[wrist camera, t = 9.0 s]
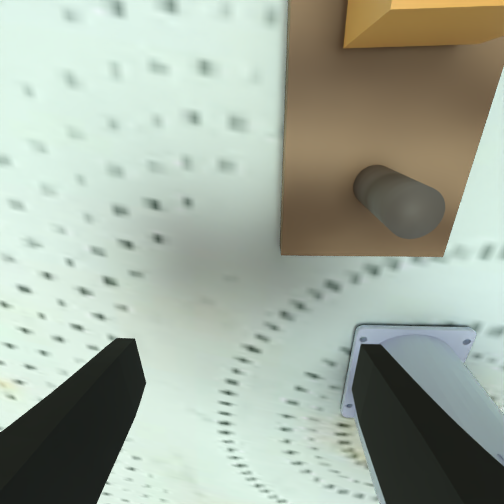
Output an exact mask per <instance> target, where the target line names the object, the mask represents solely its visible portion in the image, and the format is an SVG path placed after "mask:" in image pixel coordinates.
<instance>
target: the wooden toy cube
mask: <svg viewBox="0 0 504 504" xmlns="http://www.w3.org/2000/svg"><path fill="white" fill-rule="evenodd" d="M502 36H504V0H348V5H347V16H346V26H345V36H344V46H343V48H373V47H405V46H437V45H469V44H480V43H483V42H486V41H489V40H492V39H495V38H499V37H502Z"/></svg>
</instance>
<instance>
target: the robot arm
mask: <svg viewBox="0 0 504 504" xmlns="http://www.w3.org/2000/svg"><path fill="white" fill-rule="evenodd" d="M361 337H364V338H361ZM475 338H476V332H475V331H474V330H473V329H472V328H470V327H433V326H383V325H361V326H359V327H358V328H357V329H356V332H355V337H354V342H353V347H352V353H351V358H350V363H349V368H348V373H347V379H346V384H345V389H344V394H343V400H342V405H341V414H342V416H344V417H352V418H354V419H355V422H356V426H357V429H358V433H359V436H360V440H361V443H362V447H363V450H364V454H365V457H366V460H367V464H368V467H369V471H370V474H371V478H372V481H373V485H374V488H375V492H376V495H377V498H378V500H379V503H380V504H504V414H503V413H502V412H501V410H500V409H499V408H498V406H497V405H496V404H495V403H494V401H493V400H492V399H491V398H490V396H489V395H488V394H487V392H486V391H485V390H484V389H483V387H482V386H481V385H480V384H479V382H478V381H477V380H476V379H475V377H474V376H473V375H472V373H471V372H470V371H469V370H468V368H467V367H466V366H465V365H464V363H465V361H466V358H467V356H468V354H469V351H470V349H471V347H472V344H473V342H474V340H475ZM145 385H146V380H145V377H144V373H143V369H142V365H141V361H140V357H139V353H138V349H137V345H136V341H135V339H130V338H116V339H115V340H114V341H113V342H111V343H110V344H109V345H108V346H106V347H105V348H104V349H103V350H102V351H101V352H99V353H98V354H97V355H96V356H95V357H93V358H92V359H91V360H90V361H89V362H88V363H86V364H85V365H84V366H83V367H82V368H81V369H79V370H78V371H77V372H76V373H75V374H73V375H72V376H71V377H70V378H69V379H67V380H66V381H65V382H64V383H63V384H61V385H60V386H59V387H58V388H57V389H55V390H54V391H53V392H52V393H51V394H49V395H48V396H47V397H45V398H44V399H43V400H42V401H40V402H39V403H38V404H36V405H35V406H34V407H33V408H31V409H30V410H29V411H28V412H26V413H25V414H24V415H22V416H21V417H20V418H19V419H17V420H16V421H15V422H13V423H12V424H11V425H10V426H8V427H7V428H6V429H4V430H3V431H2V432H0V504H97V501H98V499H99V497H100V494H101V492H102V490H103V488H104V486H105V483H106V481H107V479H108V477H109V474H110V472H111V470H112V468H113V466H114V463H115V461H116V459H117V457H118V454H119V452H120V450H121V448H122V446H123V443H124V441H125V439H126V437H127V434H128V432H129V430H130V428H131V425H132V423H133V421H134V418H135V416H136V413H137V410H138V407H139V404H140V401H141V398H142V395H143V391H144V388H145Z"/></svg>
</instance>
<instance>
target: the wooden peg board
mask: <svg viewBox="0 0 504 504" xmlns="http://www.w3.org/2000/svg"><path fill="white" fill-rule="evenodd" d="M347 5H348V0H288V27H287V56H286V85H285V114H284V143H283V172H282V201H281V230H280V249H281V255H300V256H408V257H443V255H444V252H445V249H446V246H447V243H448V240H449V236H450V233H451V230H452V227H453V224H454V221H455V218H456V214H457V211H458V208H459V205H460V202H461V199H462V195H463V192H464V189H465V186H466V183H467V180H468V177H469V173H470V170H471V167H472V164H473V161H474V158H475V155H476V151H477V148H478V145H479V142H480V139H481V136H482V133H483V129H484V126H485V123H486V120H487V117H488V114H489V111H490V107H491V104H492V101H493V98H494V95H495V92H496V89H497V85H498V82H499V79H500V76H501V73H502V70H503V67H504V36H502V37H499V38H495V39H492V40H489V41H486V42H483V43H480V44H469V45H437V46H405V47H373V48H343V46H344V36H345V26H346V16H347Z"/></svg>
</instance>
